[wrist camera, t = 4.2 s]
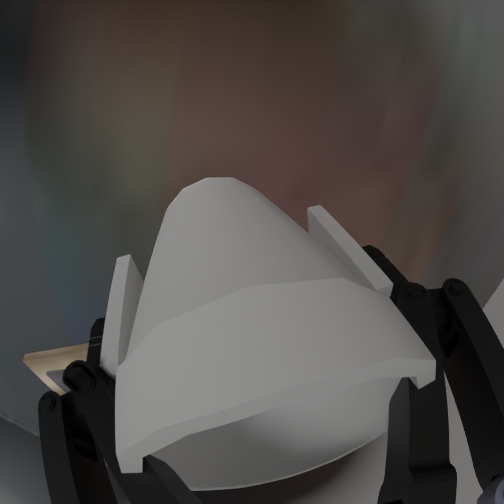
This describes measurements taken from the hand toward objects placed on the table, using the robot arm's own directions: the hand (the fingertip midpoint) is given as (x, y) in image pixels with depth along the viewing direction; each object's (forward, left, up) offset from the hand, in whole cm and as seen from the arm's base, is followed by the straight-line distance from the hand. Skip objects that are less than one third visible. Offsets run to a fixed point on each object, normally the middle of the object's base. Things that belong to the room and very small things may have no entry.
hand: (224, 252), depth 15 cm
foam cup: (0, 0, -3) cm, 3 cm away
